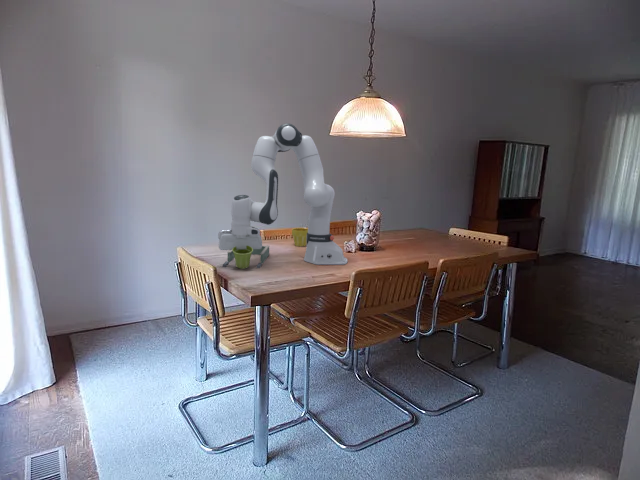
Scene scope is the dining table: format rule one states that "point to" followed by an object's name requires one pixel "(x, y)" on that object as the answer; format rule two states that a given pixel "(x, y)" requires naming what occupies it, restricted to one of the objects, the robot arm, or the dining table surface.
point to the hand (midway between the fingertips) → (240, 258)
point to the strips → (228, 263)
